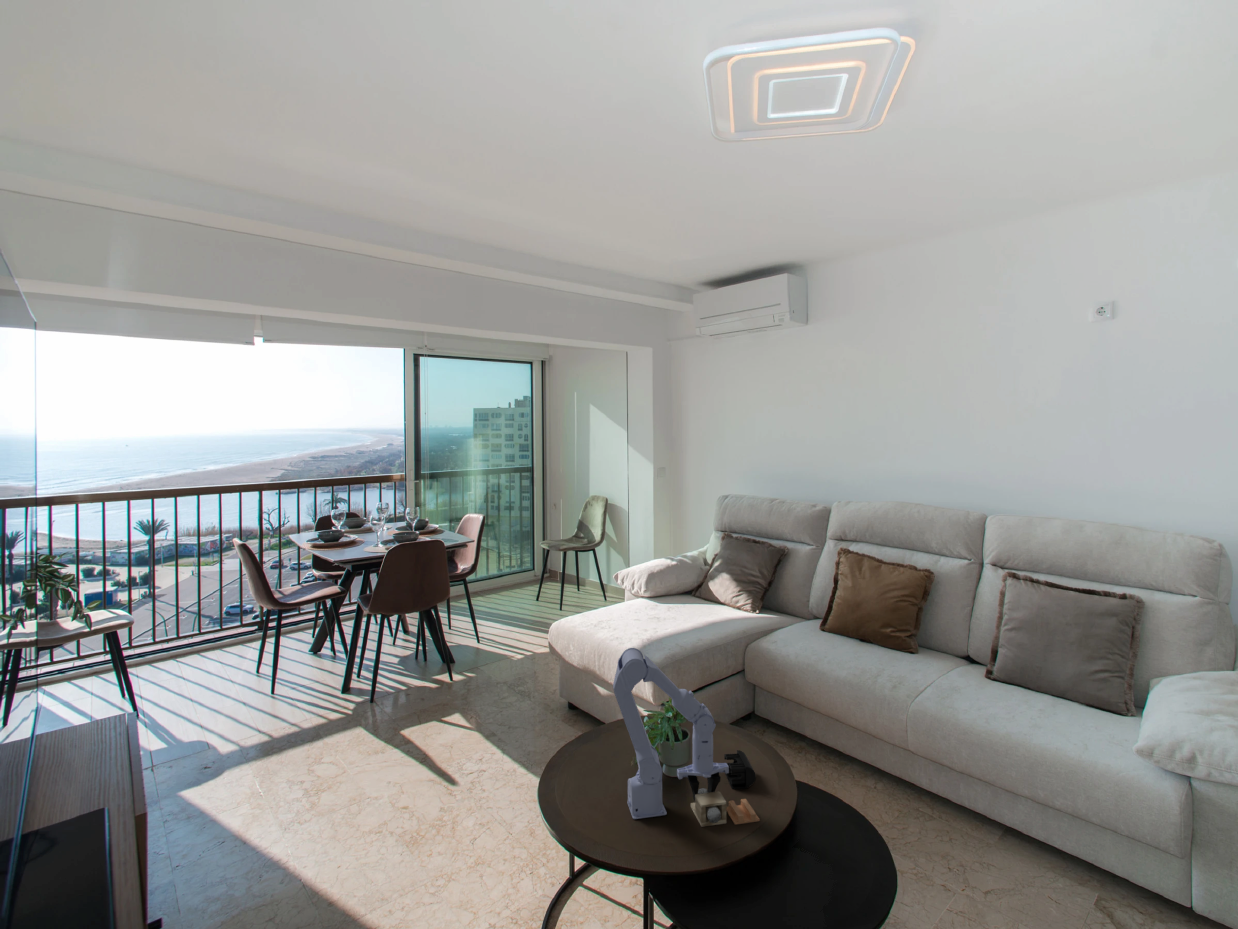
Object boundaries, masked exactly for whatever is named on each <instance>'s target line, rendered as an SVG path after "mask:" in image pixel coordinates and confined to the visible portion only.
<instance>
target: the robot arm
mask: <svg viewBox="0 0 1238 929" xmlns="http://www.w3.org/2000/svg"><path fill="white" fill-rule="evenodd" d="M613 679H614V680H613V683H612V688H613V693H614V696H615V699H616V701H617V705H618V708H619V710H620V712H621V716H622V719H623V721H624V724H625V726H626V729H627V731H628V735H629V737H630V740H631V743H632V746H633V749H634V752H635V755H636V757H635V759H636V763H637V765H638V766H637V767H638V770H637V771H636V772H635V773H636V774H635V776H633V777H631V778H628V779H627V801H626V802H627V806H628V809H629V812H630V815H631V817H632V819H633V820H638V819H646V818H653V817H661V816H666V815H667V810H666V808H665V805H664V804H663V768H662V766H661V763H660V758H659V753H658V751H657V748H656V747H654V746H653V745H652V743H651V740H650V739H649V736H648V733H647V730H646V728H645V726H644V722H643V720H642V716H641V713H640V712H639V709H638V705H637V703H636V701H635V698H634V695H633V690H634V687H635V686H636V685H637V684H639V683H640V682H641V681H642V682H643V683H648V682H653V683H654V685H656V686H657V688H659V689H661V690H662V691H663V692H664V693H665V694H666V695H667V696H668V697H670V698H671V705H672V706H673V708H675V709H676V710H677V711H678V712H679V714H681V716H683V717H684V718H685V719H686V720H687V721H688V722H691V723H692V739H691V742H692V763H691V764H689V765H686V766H683V767H680V768H676V777H677V778H678V780H683V778H687V780H688V784H689V785H690V789H691V792H692V797H693V801H694V802H695V794H698V790H699V789H700V788H699V787H700V782H699V780H698V777H703V778H705V779H706V780H707V791H708V792H709V793H710V792H716V790H717V787H718V786H719V784H720V782H721V778H722V777H721V776H720V773H722V774H723V773H724V774H725V773H729V766H728V765H727V763H728V762H714V735H713V733H714V731H715V728H716V725H717V724H716V723H715V719H714V717H713V715H712V713H711V711H710V710H709V708H708V706H706V705H705V704H704V703H703V702H702V703H701V702H700V701H699V700H698V699H696V697H695V696H694V695H695V694H694V692H692V690H689V691H688V689H686V688H679V687H677V685H676V684H675V683H674V682H673V681H672V680H671V679H670V678H669V677H668V676H667V675H666V674H665V672H663V671H662V669H660V667H658V665H657V664H656V663H654V661H652V660H651V659H650V657H649V656H647V655H646V654H643V653H642V651H641V650H640V649H639V648H637V647H628V648H627V649H624V651H623V652H622V653H621V655H620V657H619V658H618V660H617V667H616V671H615V675H614V678H613ZM697 776H698V777H697Z"/></svg>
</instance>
